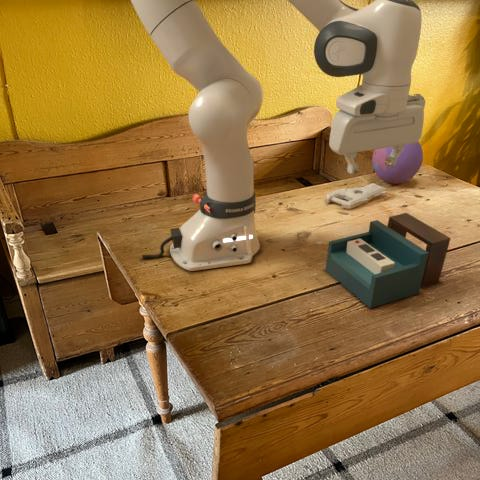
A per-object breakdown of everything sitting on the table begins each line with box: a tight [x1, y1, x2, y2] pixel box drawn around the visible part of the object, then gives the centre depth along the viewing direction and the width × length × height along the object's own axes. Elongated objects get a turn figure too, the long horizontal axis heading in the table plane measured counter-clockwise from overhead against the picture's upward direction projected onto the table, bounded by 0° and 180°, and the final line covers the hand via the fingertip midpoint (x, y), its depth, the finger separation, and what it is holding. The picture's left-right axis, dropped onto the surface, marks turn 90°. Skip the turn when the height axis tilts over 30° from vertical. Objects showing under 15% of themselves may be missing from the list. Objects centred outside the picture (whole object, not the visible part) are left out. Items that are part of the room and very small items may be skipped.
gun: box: [325, 182, 388, 210], centre depth 147 cm, size 18×3×10 cm
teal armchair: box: [325, 219, 429, 309], centre depth 109 cm, size 13×17×10 cm
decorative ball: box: [371, 141, 424, 185], centre depth 154 cm, size 15×15×15 cm
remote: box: [346, 239, 395, 274], centre depth 108 cm, size 4×12×3 cm, turn 25°
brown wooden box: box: [386, 212, 452, 288], centre depth 113 cm, size 5×14×11 cm, turn 25°
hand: (371, 169), depth 103 cm, fingers open, 8 cm apart
